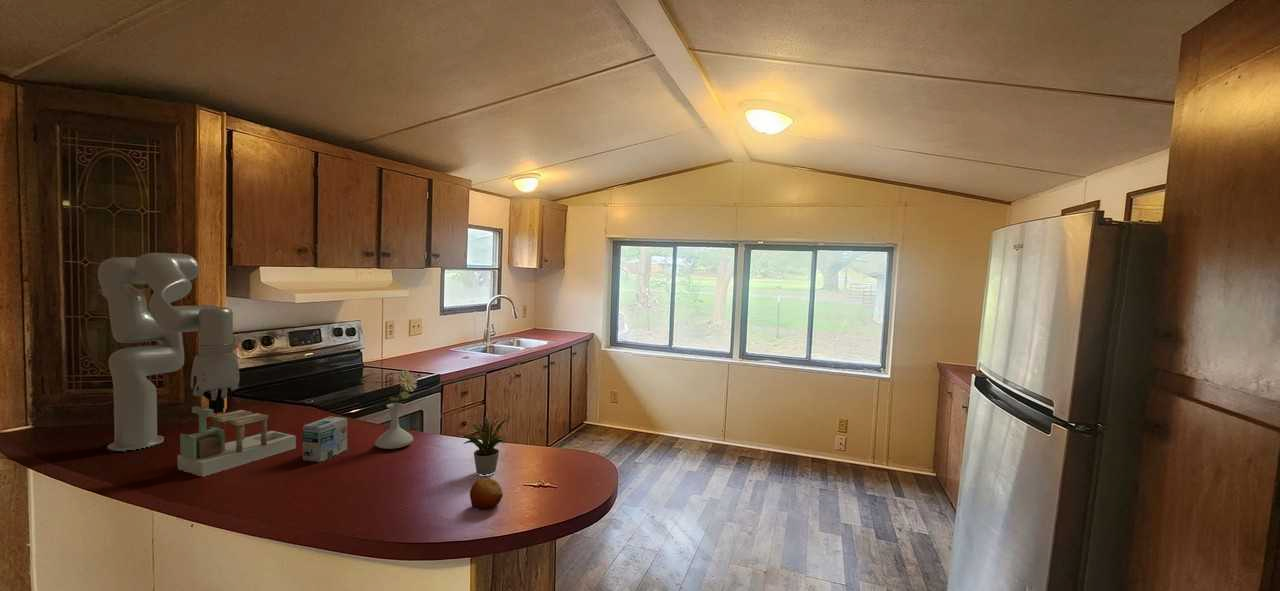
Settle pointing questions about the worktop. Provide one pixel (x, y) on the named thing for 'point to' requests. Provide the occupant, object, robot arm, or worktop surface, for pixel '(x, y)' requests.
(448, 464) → the worktop surface
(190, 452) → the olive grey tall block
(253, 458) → the white rectangular tray
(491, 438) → the house plant
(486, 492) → the fruit
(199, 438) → the block
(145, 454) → the worktop surface
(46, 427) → the worktop surface
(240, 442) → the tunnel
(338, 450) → the light bulb box
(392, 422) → the flower in vase
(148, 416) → the robot arm
